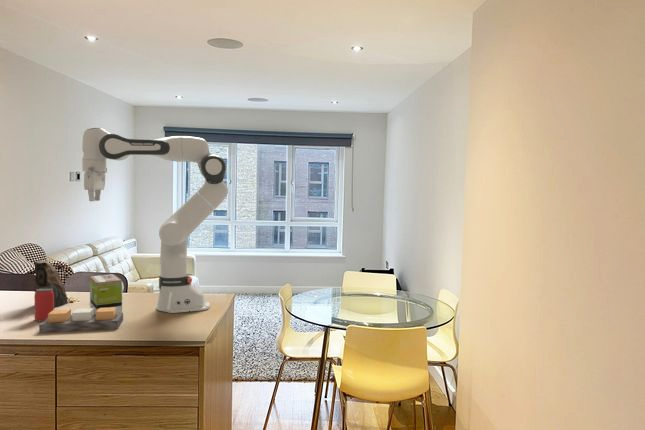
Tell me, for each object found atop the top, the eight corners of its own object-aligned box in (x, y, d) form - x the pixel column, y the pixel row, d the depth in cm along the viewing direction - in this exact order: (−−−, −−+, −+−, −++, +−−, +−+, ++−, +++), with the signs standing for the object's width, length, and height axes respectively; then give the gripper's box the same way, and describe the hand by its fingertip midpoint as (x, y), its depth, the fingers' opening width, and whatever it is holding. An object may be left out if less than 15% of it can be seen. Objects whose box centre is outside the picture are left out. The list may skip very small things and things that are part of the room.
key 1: (70, 317, 177) (70, 309, 176) (66, 322, 171) (66, 313, 171) (53, 318, 175) (53, 309, 175) (48, 323, 169) (48, 313, 169)
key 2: (116, 315, 181) (116, 307, 180) (113, 320, 175) (113, 311, 175) (99, 316, 179) (99, 307, 179) (96, 320, 173) (96, 311, 173)
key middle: (93, 316, 179) (93, 308, 178) (90, 321, 173) (90, 312, 173) (76, 317, 177) (76, 308, 177) (72, 322, 171) (72, 312, 171)
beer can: (34, 322, 179) (33, 291, 178) (35, 318, 185) (35, 288, 184) (53, 320, 182) (53, 290, 181) (54, 316, 188) (54, 286, 187)
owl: (49, 310, 197) (49, 263, 196) (22, 308, 199) (21, 262, 198) (69, 303, 210) (69, 259, 209) (44, 301, 211) (43, 258, 210)
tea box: (89, 310, 198) (89, 275, 198) (114, 306, 204) (114, 273, 204) (96, 318, 186) (96, 281, 186) (122, 314, 192) (122, 279, 192)
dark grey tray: (123, 320, 184) (123, 312, 184) (117, 328, 172) (117, 320, 172) (50, 323, 178) (50, 315, 177) (39, 333, 166) (39, 324, 166)
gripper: (97, 166, 183) (97, 201, 183) (107, 168, 203) (107, 200, 203) (79, 166, 181) (79, 201, 182) (91, 168, 201) (92, 200, 202)
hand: (94, 201), depth 193 cm, fingers open, 8 cm apart
